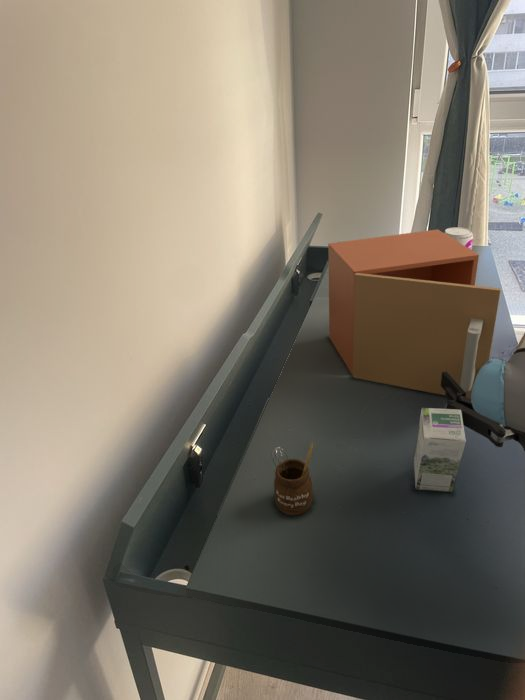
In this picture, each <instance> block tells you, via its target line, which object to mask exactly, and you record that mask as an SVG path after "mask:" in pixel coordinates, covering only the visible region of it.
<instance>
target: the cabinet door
mask: <svg viewBox="0 0 525 700" xmlns="http://www.w3.org/2000/svg"><path fill="white" fill-rule="evenodd" d="M501 291H502V288H501V287H492V286H482V285H475V286H474V285H465V284H455V283H446V282H437V281H427V280H418V279H409V278H399V277H390V276H381V275H371V274H362V273H356V274H355V285H354V348H353V375H352V378H354V379H357V380H362V381H368V382H374V383H379V384H383V385H388V386H393V387H400V388H405V389H410V390H415V391H420V392H424V393H425V392H426V393H431V394H435V395H440V396H445V390H444V389H443V388H442V387H441V378H442V372H446V371H447V373H448V374H449V375H450V376H451V377H452V378H453V379H454V380H455V381H456V382H457V384H458V385H459V386H460V387H461V388H462V389H463V390H464V391H465V392H466V397H467V398H470V399H471V393H472V388H473V384H474V382H475V379H476V377H477V374H478V373H479V371H480V369H481V368H482V366H484V365H485V364H486V362H488V361H489V360H490V357H491V351H492V346H493V341H494V333H495V326H496V321H497V315H498V309H499V304H500V297H501Z"/></svg>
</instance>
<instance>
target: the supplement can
mask: <svg viewBox="0 0 525 700" xmlns="http://www.w3.org/2000/svg"><path fill="white" fill-rule="evenodd" d="M443 233H444V234H446V235H448V236H449V237H451V238H453V239H454V240H456V241H457V242H459V243H461V244H462V245H464V246H466V247H467V248H469V249H470V250H472V251H473V242H474V235H473V231H472V230H471V229H470V228H466V227H459V226H457V227H454V226H453V227H447V228H446V229H445V230H444V232H443Z"/></svg>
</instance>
